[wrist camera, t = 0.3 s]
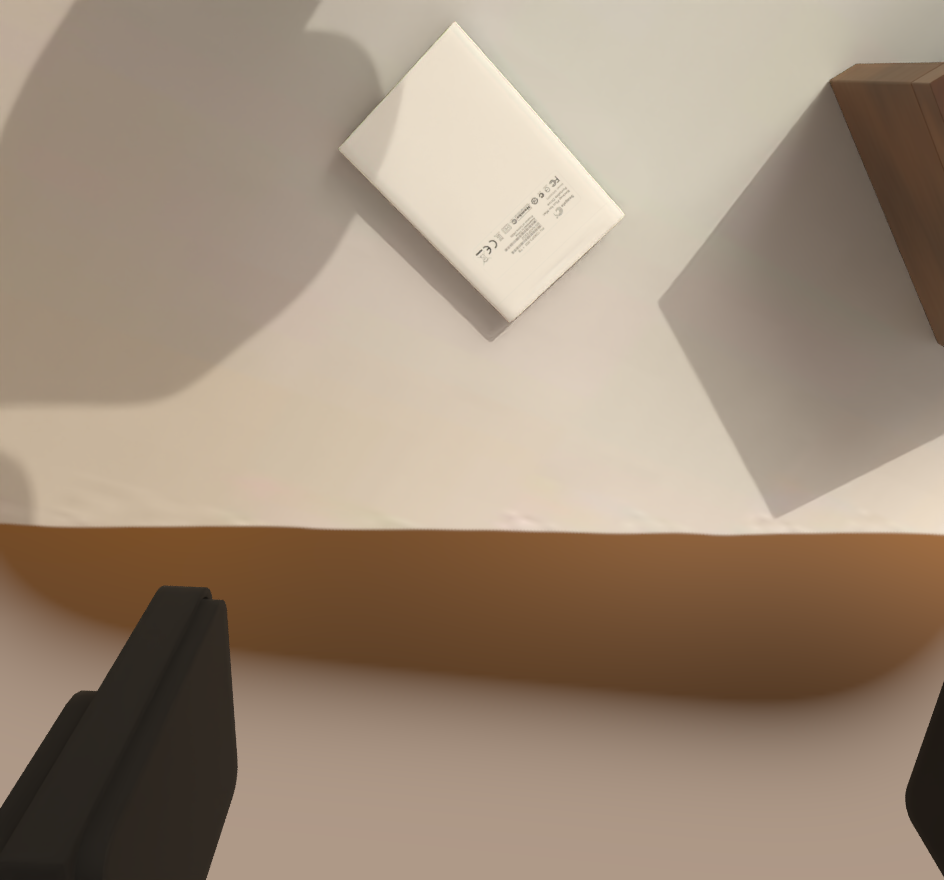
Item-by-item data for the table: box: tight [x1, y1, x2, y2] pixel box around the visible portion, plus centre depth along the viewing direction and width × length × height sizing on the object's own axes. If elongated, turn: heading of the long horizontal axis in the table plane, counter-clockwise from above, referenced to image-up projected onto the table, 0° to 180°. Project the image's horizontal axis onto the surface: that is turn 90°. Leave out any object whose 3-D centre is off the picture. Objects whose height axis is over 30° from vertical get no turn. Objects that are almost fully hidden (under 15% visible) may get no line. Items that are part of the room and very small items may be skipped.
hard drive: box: [338, 21, 625, 323], centre depth 43 cm, size 2×8×12 cm
